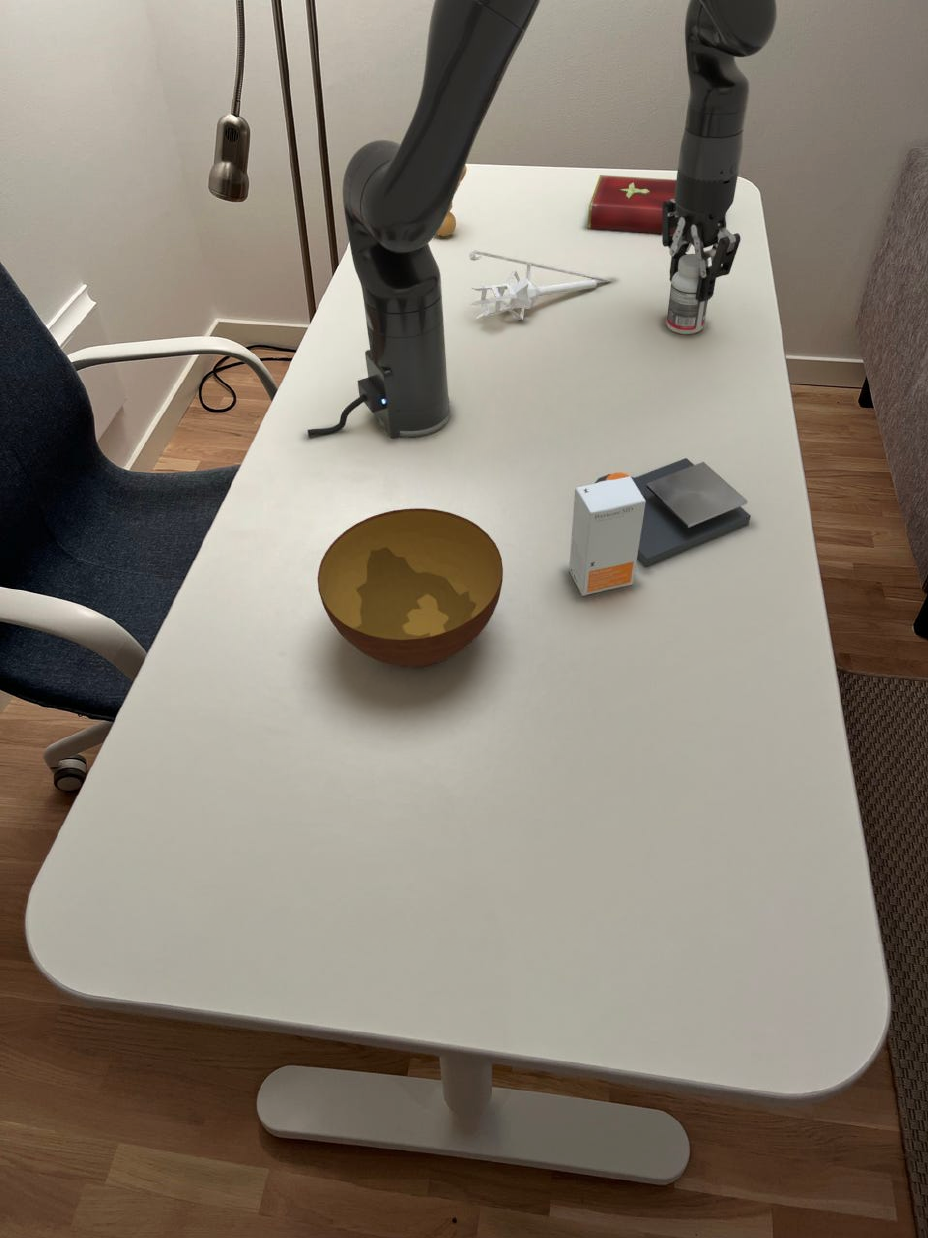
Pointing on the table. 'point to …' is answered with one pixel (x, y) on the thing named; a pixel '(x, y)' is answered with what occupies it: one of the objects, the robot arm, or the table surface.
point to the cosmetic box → (606, 535)
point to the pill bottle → (686, 298)
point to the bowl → (411, 585)
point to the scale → (676, 521)
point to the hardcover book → (630, 204)
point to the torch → (526, 288)
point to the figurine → (450, 216)
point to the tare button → (616, 476)
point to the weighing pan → (696, 494)
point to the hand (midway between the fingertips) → (690, 289)
